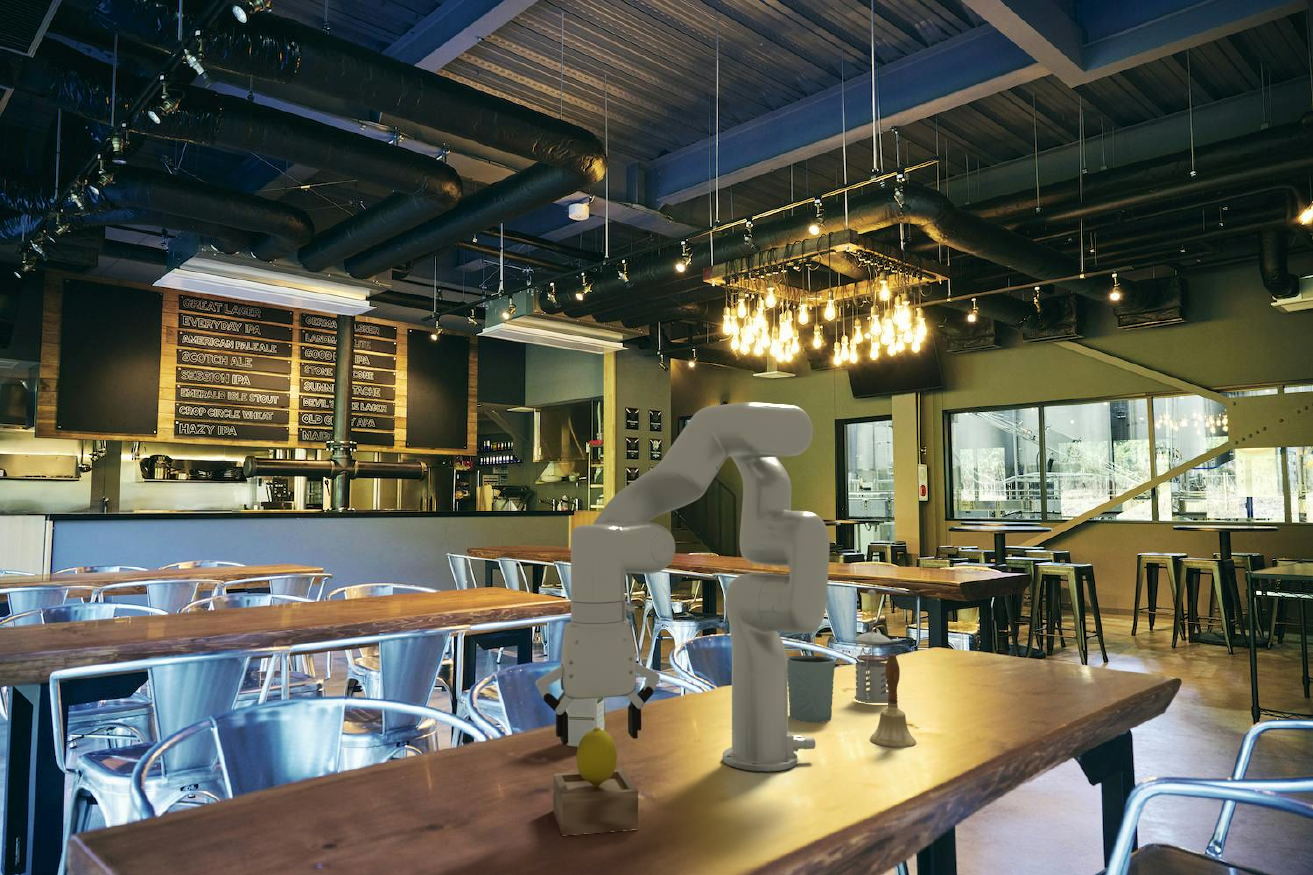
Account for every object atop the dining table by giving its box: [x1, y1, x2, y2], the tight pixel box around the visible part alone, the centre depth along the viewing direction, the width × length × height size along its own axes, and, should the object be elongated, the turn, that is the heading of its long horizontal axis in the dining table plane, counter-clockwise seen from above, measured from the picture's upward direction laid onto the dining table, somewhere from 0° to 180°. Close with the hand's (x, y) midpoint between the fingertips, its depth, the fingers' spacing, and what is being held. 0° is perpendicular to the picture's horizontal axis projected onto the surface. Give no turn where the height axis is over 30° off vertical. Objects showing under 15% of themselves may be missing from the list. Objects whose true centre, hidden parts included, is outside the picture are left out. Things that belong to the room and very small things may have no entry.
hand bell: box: [869, 653, 917, 748], centre depth 156 cm, size 8×8×16 cm
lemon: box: [576, 727, 618, 787], centre depth 115 cm, size 6×6×8 cm
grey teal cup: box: [787, 654, 836, 723], centre depth 174 cm, size 10×10×12 cm
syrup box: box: [566, 698, 606, 748], centre depth 153 cm, size 6×6×14 cm
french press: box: [854, 589, 892, 703], centre depth 190 cm, size 10×12×25 cm
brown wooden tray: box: [552, 768, 639, 836], centre depth 114 cm, size 10×10×5 cm
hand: (598, 738), depth 115 cm, fingers open, 9 cm apart
